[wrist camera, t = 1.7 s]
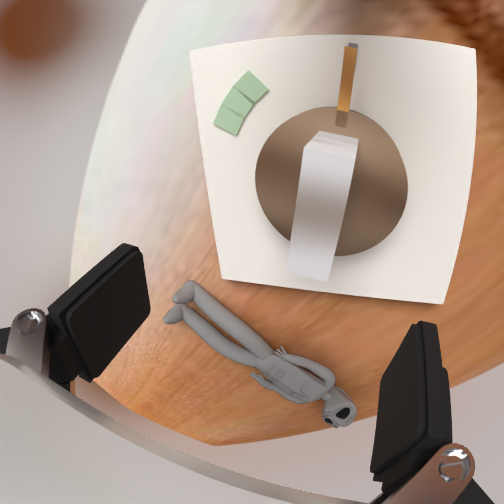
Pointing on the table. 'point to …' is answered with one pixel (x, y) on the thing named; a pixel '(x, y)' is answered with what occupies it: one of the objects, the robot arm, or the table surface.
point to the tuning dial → (331, 182)
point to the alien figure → (262, 356)
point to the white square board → (363, 101)
